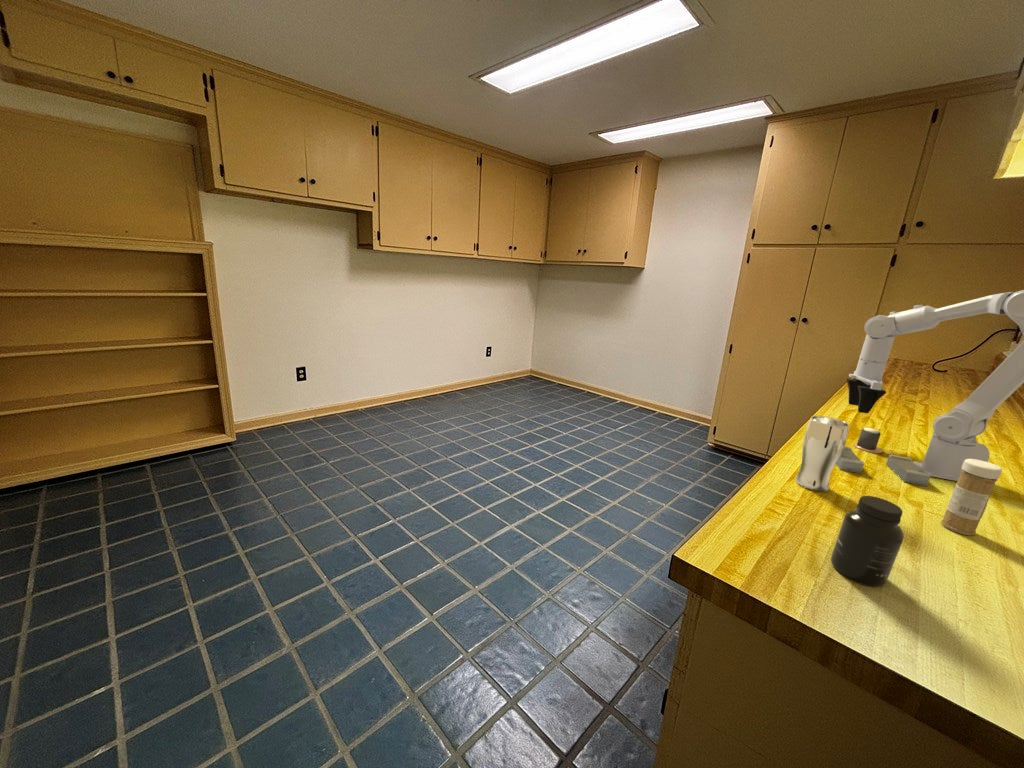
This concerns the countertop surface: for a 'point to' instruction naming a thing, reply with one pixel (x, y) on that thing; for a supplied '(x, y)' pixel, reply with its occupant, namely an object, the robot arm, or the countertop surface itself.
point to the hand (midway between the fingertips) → (858, 408)
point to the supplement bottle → (869, 541)
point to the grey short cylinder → (868, 438)
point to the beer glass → (821, 451)
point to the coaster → (869, 450)
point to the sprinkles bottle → (970, 496)
